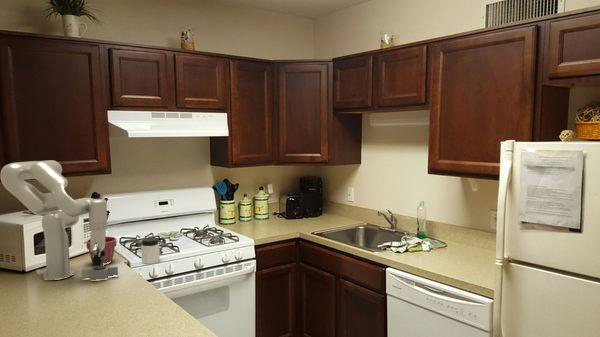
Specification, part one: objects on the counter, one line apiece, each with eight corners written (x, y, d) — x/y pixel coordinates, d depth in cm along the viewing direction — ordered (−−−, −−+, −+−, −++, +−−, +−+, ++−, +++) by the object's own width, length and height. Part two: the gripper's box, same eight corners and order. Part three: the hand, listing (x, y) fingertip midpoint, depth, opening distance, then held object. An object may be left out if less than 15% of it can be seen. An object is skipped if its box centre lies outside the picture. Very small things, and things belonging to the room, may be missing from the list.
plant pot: (115, 266, 212) (114, 241, 211) (84, 269, 208) (83, 243, 207) (118, 258, 225) (118, 235, 225) (90, 261, 222) (89, 237, 221)
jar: (138, 262, 219) (137, 240, 218) (151, 258, 226) (150, 236, 225) (150, 265, 214) (149, 242, 214) (162, 260, 221) (162, 238, 221)
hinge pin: (93, 280, 191) (92, 258, 190) (95, 277, 195) (94, 256, 195) (105, 279, 192) (104, 258, 191) (106, 276, 197) (106, 255, 196)
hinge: (80, 282, 188) (80, 271, 188) (84, 277, 195) (84, 267, 195) (116, 279, 192) (116, 269, 192) (119, 274, 199) (118, 264, 199)
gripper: (93, 222, 199) (94, 257, 200) (84, 230, 182) (85, 268, 184) (110, 221, 201) (111, 256, 202) (103, 229, 184) (104, 267, 186)
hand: (99, 262), depth 193 cm, fingers open, 9 cm apart
